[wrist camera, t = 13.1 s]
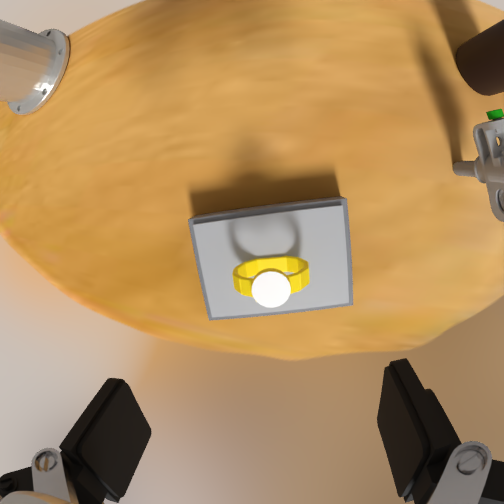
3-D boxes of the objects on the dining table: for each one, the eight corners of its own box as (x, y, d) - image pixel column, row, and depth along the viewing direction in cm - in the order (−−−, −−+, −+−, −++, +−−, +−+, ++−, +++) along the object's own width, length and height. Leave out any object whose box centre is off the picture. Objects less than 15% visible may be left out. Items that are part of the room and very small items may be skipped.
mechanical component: (452, 119, 23) (510, 106, 13) (478, 209, 25) (536, 226, 15) (433, 125, 24) (490, 111, 14) (460, 217, 26) (518, 238, 16)
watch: (303, 245, 25) (315, 265, 20) (305, 275, 26) (317, 303, 20) (234, 252, 26) (227, 275, 20) (238, 282, 26) (233, 312, 21)
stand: (214, 308, 31) (208, 322, 28) (196, 215, 28) (186, 220, 25) (347, 294, 29) (354, 306, 26) (340, 196, 27) (347, 199, 24)
